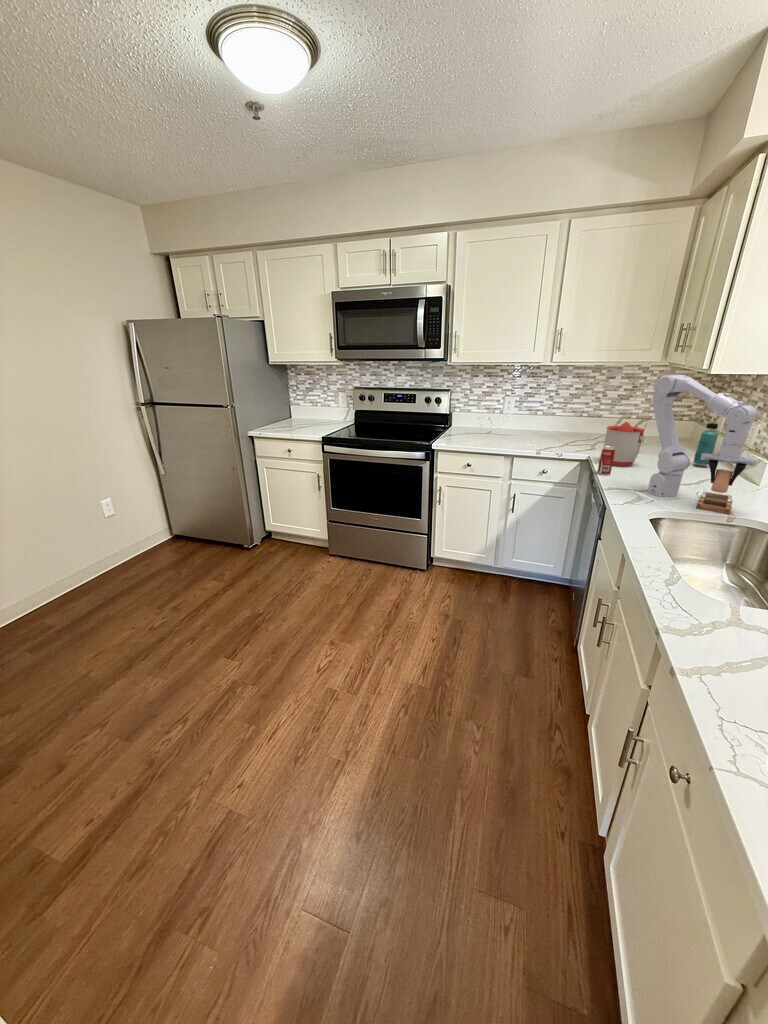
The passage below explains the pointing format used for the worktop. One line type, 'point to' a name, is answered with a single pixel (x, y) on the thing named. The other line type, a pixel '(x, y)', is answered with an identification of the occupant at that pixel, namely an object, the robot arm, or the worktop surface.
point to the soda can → (606, 460)
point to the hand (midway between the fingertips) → (721, 483)
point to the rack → (715, 503)
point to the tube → (721, 480)
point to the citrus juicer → (624, 443)
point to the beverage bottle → (706, 444)
